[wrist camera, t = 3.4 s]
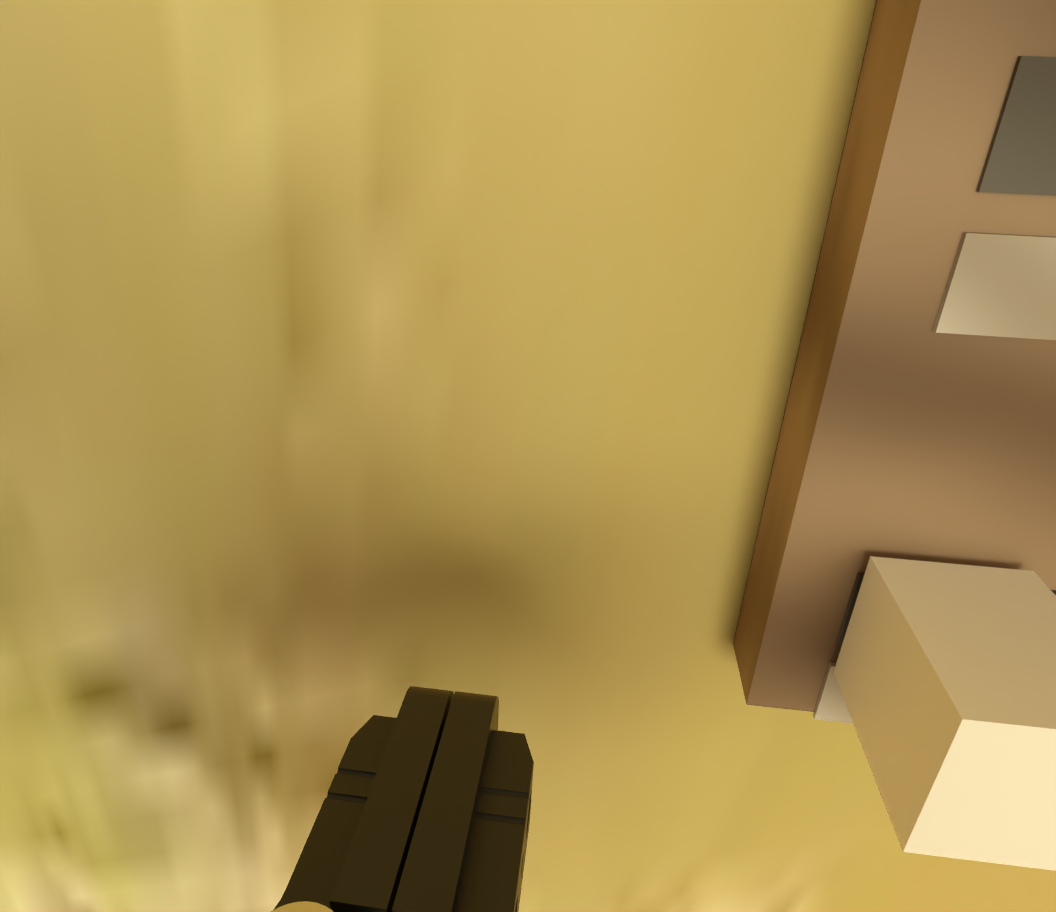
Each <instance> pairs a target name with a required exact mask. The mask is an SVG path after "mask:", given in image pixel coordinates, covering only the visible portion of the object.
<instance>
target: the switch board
mask: <svg viewBox="0 0 1056 912" xmlns="http://www.w3.org/2000/svg"><path fill="white" fill-rule="evenodd" d="M870 556H873V557H884V558H895V559H906V560H918V561H929V562H940V563H951V564H962V565H973V566H984V567H995V568H1007V569H1018V570H1029V571H1034V572H1035V573H1036V574H1037V575H1038V576H1039V577H1040V579H1041V580H1042V581H1043V582H1044V583H1045V584H1046V585H1047V586H1048V588H1049V589H1050V590H1051V591H1052V592H1053V593H1054V594H1055V595H1056V0H877V2H876V7H875V11H874V16H873V20H872V25H871V29H870V34H869V38H868V42H867V47H866V51H865V56H864V60H863V65H862V69H861V74H860V78H859V83H858V87H857V92H856V96H855V101H854V105H853V110H852V114H851V119H850V123H849V128H848V132H847V137H846V141H845V146H844V150H843V154H842V159H841V163H840V168H839V172H838V177H837V181H836V186H835V190H834V195H833V199H832V204H831V208H830V213H829V217H828V222H827V226H826V231H825V235H824V240H823V244H822V249H821V253H820V258H819V262H818V266H817V271H816V275H815V280H814V284H813V289H812V293H811V298H810V302H809V307H808V311H807V316H806V320H805V325H804V329H803V334H802V338H801V343H800V347H799V352H798V356H797V361H796V365H795V370H794V374H793V378H792V383H791V387H790V392H789V396H788V401H787V405H786V410H785V414H784V419H783V423H782V428H781V432H780V437H779V441H778V446H777V450H776V455H775V459H774V464H773V468H772V473H771V477H770V482H769V486H768V490H767V495H766V499H765V504H764V508H763V513H762V517H761V522H760V526H759V531H758V535H757V540H756V544H755V549H754V553H753V558H752V562H751V567H750V571H749V576H748V580H747V585H746V589H745V594H744V598H743V602H742V607H741V611H740V616H739V620H738V625H737V629H736V634H735V638H734V643H733V645H734V650H735V654H736V659H737V663H738V668H739V672H740V677H741V681H742V686H743V690H744V695H745V699H746V704H747V705H755V706H764V707H774V708H783V709H792V710H801V711H810V712H814V714H813V716H814V719H817V720H826V721H835V722H845V723H853V721H852V719H851V716H850V714H849V711H848V708H847V706H846V703H845V701H844V698H843V696H842V693H841V690H840V688H839V685H838V683H837V680H836V677H835V675H834V669H835V666H836V662H837V659H838V656H839V653H840V650H841V647H842V644H843V640H844V637H845V634H846V631H847V628H848V625H849V621H850V618H851V615H852V612H853V609H854V606H855V603H856V599H857V596H858V593H859V590H860V587H861V584H862V581H863V577H864V574H865V571H866V568H867V565H868V562H869V558H870Z"/></svg>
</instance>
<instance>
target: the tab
mask: <svg viewBox="0 0 1056 912" xmlns="http://www.w3.org/2000/svg"><path fill="white" fill-rule="evenodd" d="M834 675H835V677H836V680H837V683H838V685H839V688H840V690H841V693H842V696H843V698H844V701H845V703H846V706H847V708H848V711H849V714H850V716H851V719H852V721H853V724H854V727H855V729H856V732H857V734H858V737H859V739H860V742H861V745H862V747H863V750H864V752H865V755H866V758H867V760H868V763H869V765H870V768H871V770H872V773H873V776H874V778H875V781H876V783H877V786H878V789H879V791H880V794H881V796H882V799H883V802H884V804H885V807H886V809H887V812H888V814H889V817H890V820H891V822H892V825H893V827H894V830H895V833H896V835H897V838H898V840H899V843H900V845H901V848H902V851H903V852H909V853H917V854H925V855H933V856H941V857H949V858H957V859H965V860H974V861H982V862H990V863H998V864H1006V865H1014V866H1022V867H1031V868H1039V869H1047V870H1055V871H1056V595H1055V594H1054V593H1053V592H1052V591H1051V590H1050V589H1049V588H1048V586H1047V585H1046V584H1045V583H1044V582H1043V581H1042V580H1041V579H1040V577H1039V576H1038V575H1037V574H1036V573H1035V572H1034V571H1029V570H1018V569H1007V568H995V567H984V566H973V565H962V564H951V563H940V562H929V561H918V560H906V559H895V558H884V557H873V556H870V558H869V562H868V565H867V568H866V571H865V574H864V577H863V581H862V584H861V587H860V590H859V593H858V596H857V599H856V603H855V606H854V609H853V612H852V615H851V618H850V621H849V625H848V628H847V631H846V634H845V637H844V640H843V644H842V647H841V650H840V653H839V656H838V659H837V662H836V666H835V669H834Z"/></svg>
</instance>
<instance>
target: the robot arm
mask: <svg viewBox="0 0 1056 912" xmlns="http://www.w3.org/2000/svg"><path fill="white" fill-rule="evenodd" d="M498 708H499V699H498V697H497V696H489V695H481V694H472V693H464V692H455V693H454V692H453V691H446V690H438V689H430V688H421V687H413V686H411V687H409V689H408V690H407V692H406V695H405V698H404V700H403V703H402V706H401V708H400V711H399V714H398V717H397V718H392V717H384V716H376V715H373V716H372V717H371V718H370V720H369V721H368V722H367V723H366V724H365V725H364V726H363V727H362V728H361V729H360V730H359V731H358V732H357V733H356V734H355V735H354V736H353V737H352V738H351V739H350V742H349V744H348V746H347V749H346V751H345V753H344V756H343V758H342V760H341V763H340V765H339V767H338V772H337V774H335V776H334V779H333V781H332V783H331V786H330V788H329V790H328V795H327V798H325V800H324V802H323V804H322V807H321V809H320V811H319V814H318V816H317V818H316V821H315V823H314V825H313V828H312V830H311V832H310V835H309V837H308V839H307V842H306V844H305V846H304V849H303V851H302V853H301V855H300V858H299V860H298V862H297V865H296V867H295V869H294V872H293V874H292V876H291V879H290V881H289V883H288V886H287V888H286V890H285V892H284V894H283V896H282V898H281V900H280V901H279V903H278V904H277V906H276V907H275V909H274V910H273V911H271V912H518V910H519V902H520V894H521V885H522V878H523V870H524V862H525V854H526V846H527V839H528V831H529V822H530V807H531V792H532V778H533V763H534V762H533V759H532V756H531V753H530V750H529V747H528V744H527V741H526V737H525V734H521V733H513V732H505V731H498Z"/></svg>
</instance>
